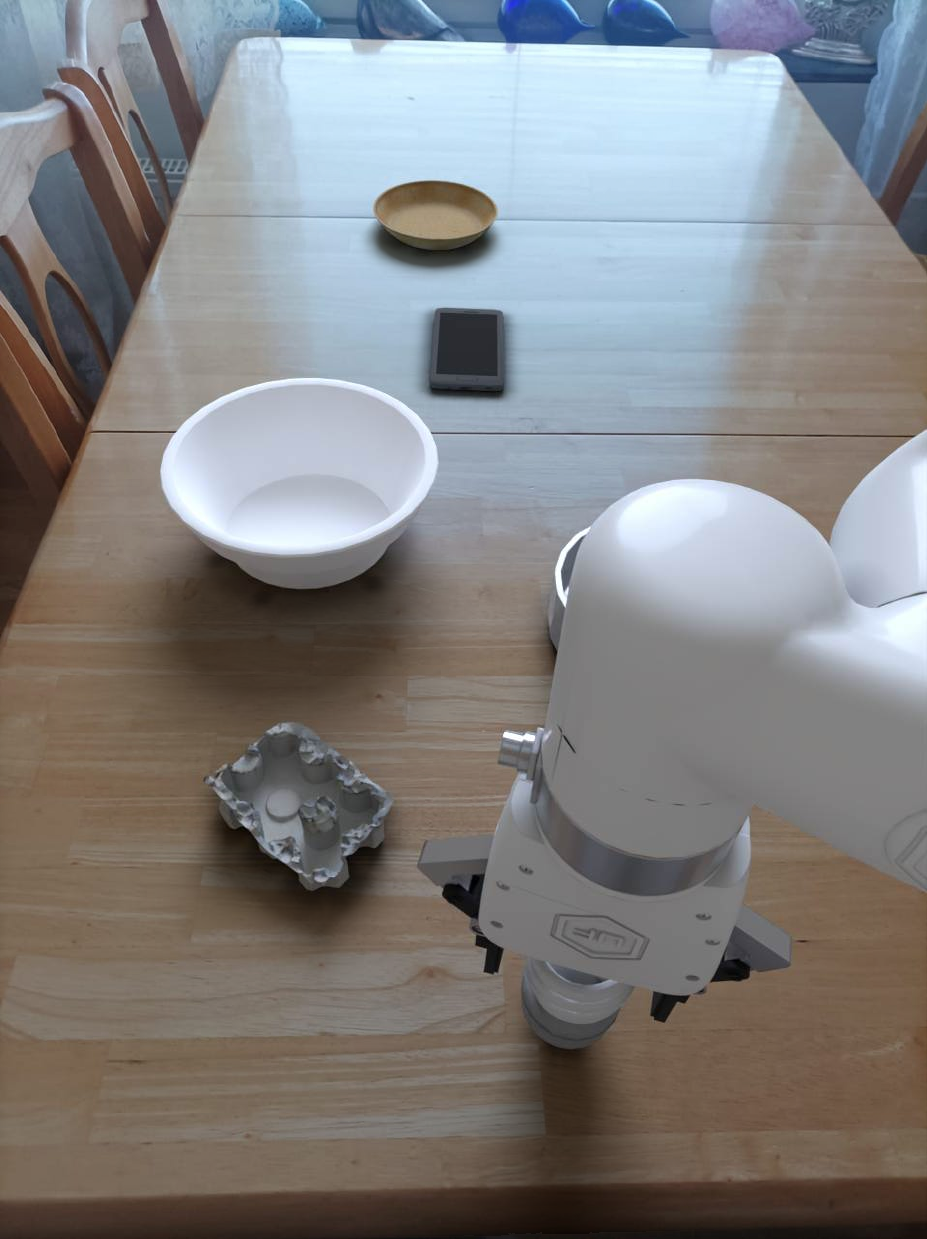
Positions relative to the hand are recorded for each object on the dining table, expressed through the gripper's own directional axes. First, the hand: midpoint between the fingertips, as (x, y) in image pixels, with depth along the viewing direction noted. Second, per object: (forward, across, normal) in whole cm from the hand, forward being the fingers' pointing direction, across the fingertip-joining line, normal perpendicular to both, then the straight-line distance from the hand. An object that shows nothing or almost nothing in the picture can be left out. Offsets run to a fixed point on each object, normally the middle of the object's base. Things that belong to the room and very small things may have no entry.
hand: (578, 967), depth 47 cm
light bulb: (+8, 0, 0) cm, 8 cm away
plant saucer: (+8, -32, +86) cm, 92 cm away
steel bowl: (+7, 0, +30) cm, 31 cm away
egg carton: (+8, -18, +8) cm, 21 cm away
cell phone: (+7, -22, +62) cm, 66 cm away
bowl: (+8, -28, +32) cm, 43 cm away
